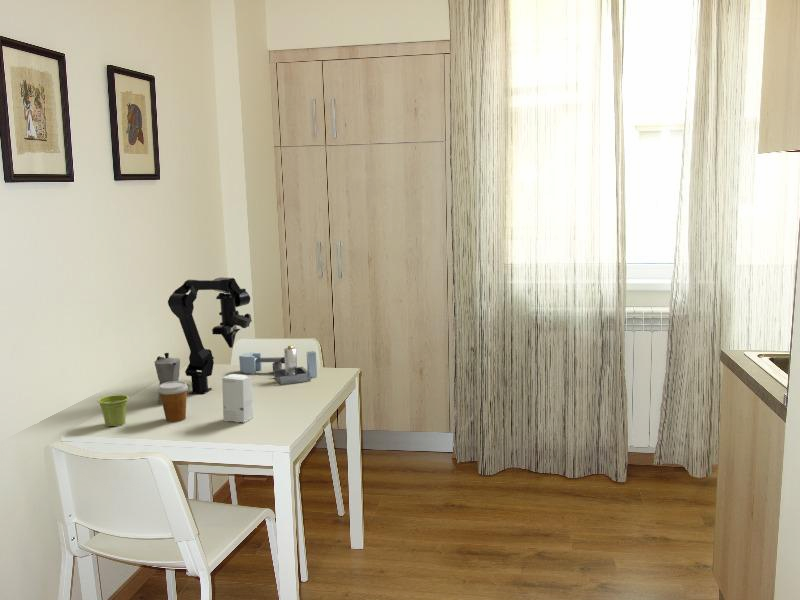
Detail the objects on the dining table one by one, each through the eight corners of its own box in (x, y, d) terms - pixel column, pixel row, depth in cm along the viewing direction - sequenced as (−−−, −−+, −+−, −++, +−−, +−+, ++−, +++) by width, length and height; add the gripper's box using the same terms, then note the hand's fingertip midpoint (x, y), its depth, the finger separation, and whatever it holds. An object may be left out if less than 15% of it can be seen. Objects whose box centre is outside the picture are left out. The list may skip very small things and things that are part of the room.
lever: (286, 363, 298) (285, 357, 298) (255, 363, 301) (255, 358, 301) (289, 361, 302) (288, 355, 301) (259, 361, 305) (258, 356, 304)
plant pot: (121, 417, 248) (118, 393, 247) (136, 422, 242) (133, 397, 241) (95, 425, 241) (92, 400, 240) (110, 430, 235) (107, 404, 234)
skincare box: (223, 421, 240) (219, 377, 238) (233, 416, 246) (230, 373, 243) (245, 423, 237) (242, 379, 235) (255, 417, 243) (252, 374, 240)
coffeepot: (191, 401, 264) (186, 353, 261) (166, 407, 258) (161, 358, 255) (172, 393, 276) (168, 347, 273) (148, 399, 270) (143, 351, 267)
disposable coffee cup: (166, 415, 249) (163, 381, 247) (194, 414, 249) (191, 380, 247) (157, 424, 240) (153, 389, 238) (185, 423, 240) (182, 388, 238)
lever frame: (277, 374, 298) (276, 357, 297) (239, 373, 302) (238, 356, 301) (283, 370, 305) (282, 353, 304) (246, 369, 308) (245, 352, 307)
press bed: (281, 385, 282) (279, 359, 280) (274, 377, 293) (272, 353, 292) (320, 379, 288) (318, 354, 286) (312, 372, 299) (310, 348, 298)
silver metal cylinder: (299, 378, 289) (298, 346, 286) (287, 380, 286) (286, 348, 284) (295, 375, 293) (294, 344, 291) (283, 377, 291) (282, 345, 288)
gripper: (236, 313, 278) (239, 353, 280) (257, 305, 296) (259, 342, 298) (210, 313, 280) (213, 352, 283) (231, 305, 298) (234, 342, 301)
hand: (231, 347), depth 291 cm, fingers closed
